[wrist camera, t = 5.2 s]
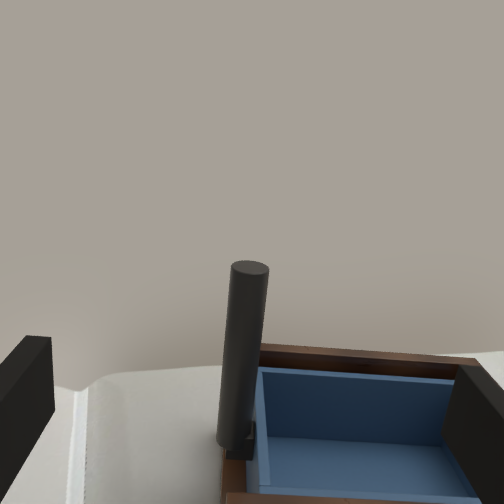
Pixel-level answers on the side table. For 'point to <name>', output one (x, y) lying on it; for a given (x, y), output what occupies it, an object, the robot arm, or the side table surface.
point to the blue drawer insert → (329, 420)
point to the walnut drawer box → (333, 360)
